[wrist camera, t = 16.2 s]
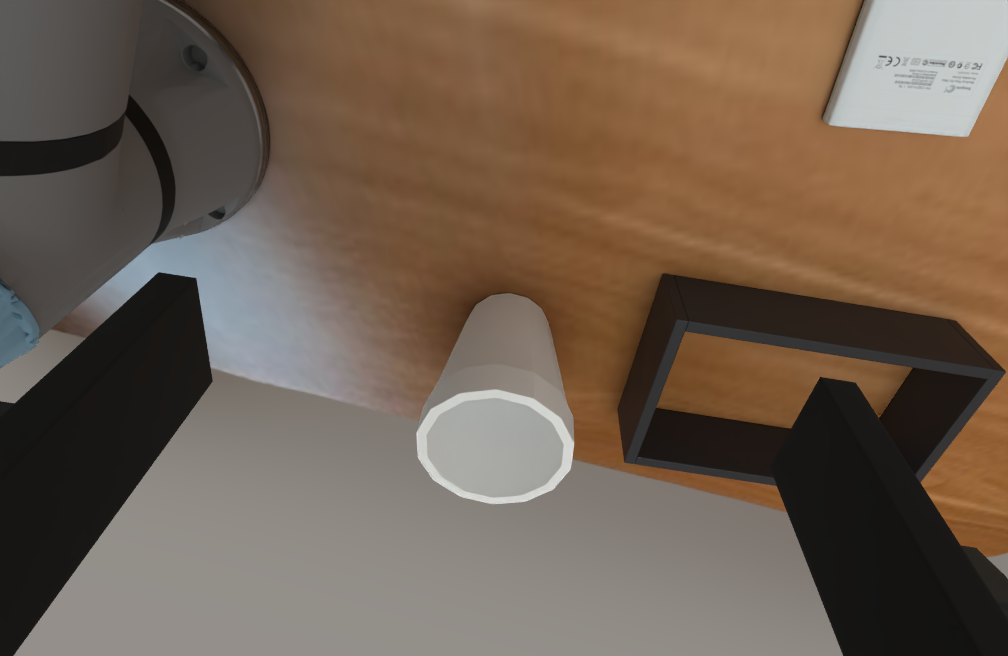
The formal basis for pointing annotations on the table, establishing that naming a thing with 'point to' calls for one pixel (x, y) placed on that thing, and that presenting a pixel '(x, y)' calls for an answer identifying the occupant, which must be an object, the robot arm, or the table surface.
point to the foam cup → (499, 408)
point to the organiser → (806, 326)
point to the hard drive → (920, 66)
